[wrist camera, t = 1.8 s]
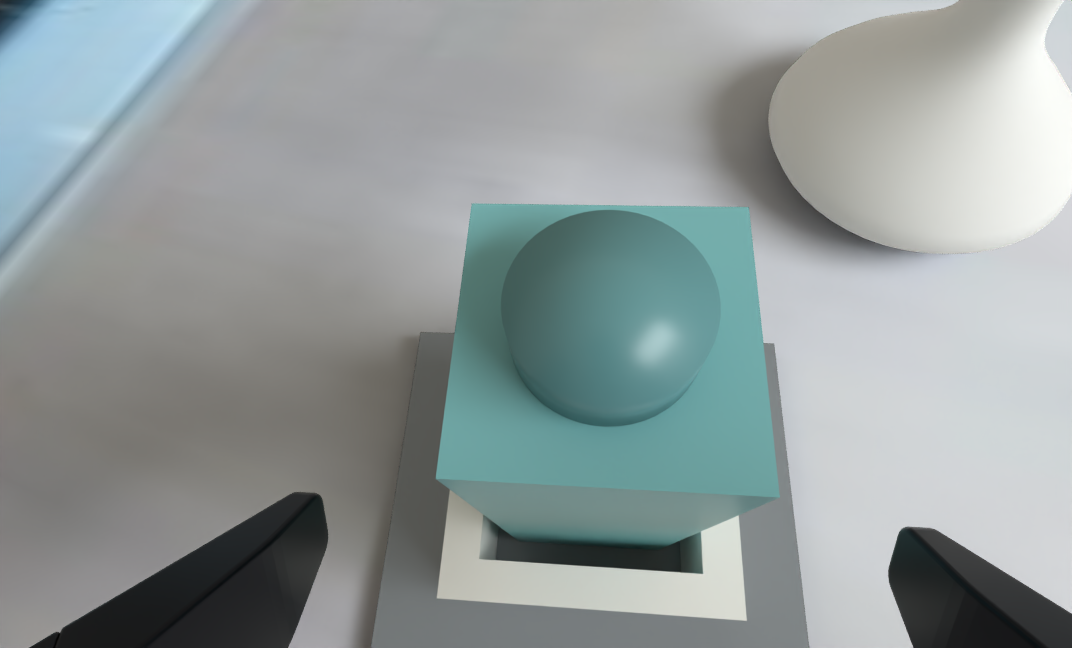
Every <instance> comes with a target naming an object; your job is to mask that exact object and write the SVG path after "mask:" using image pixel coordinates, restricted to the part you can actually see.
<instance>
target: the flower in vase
mask: <svg viewBox="0 0 1072 648" xmlns="http://www.w3.org/2000/svg"><path fill="white" fill-rule="evenodd" d="M1063 1H1064V0H959V1H958V2H956V3H955V4H953V5H951V6H948V7H946V8H942V9H937V10H928V11H918V12H910V13H903V14H897V15H891V16H885V17H880V18H876V19H873V20H869V21H866V22H863V23H860V24H857V25H854V26H851V27H848V28H845V29H843V30H840V31H838V32H836V33H833V34H831V35H829V36H827V37H826V38H824V39H822V40H820V41H819V42H817V43H816V44H815V45H813V46H812V47H811V48H809V49H808V50H807V51H806V52H805V53H804V54H803V55H802V56H801V57H800V58H799V59H798V60H797V61H796V62H795V63H794V64H793V65H792V66H791V67H790V68H789V69H788V70H787V71H786V72H785V74H784V75H783V77H782V78H781V79H780V81H779V82H778V84H777V86H776V88H775V91H774V93H773V95H772V99H771V103H770V107H769V118H768V123H769V133H770V138H771V142H772V145H773V149H774V151H775V153H776V156H777V158H778V160H779V162H780V164H781V166H782V168H783V170H784V172H785V174H786V175H787V177H788V178H789V180H790V182H791V183H792V185H793V186H794V187H795V188H796V190H797V191H798V192H799V193H800V194H801V196H802V197H803V198H804V199H805V200H806V201H807V202H808V203H810V204H811V205H812V206H813V207H814V208H815V209H816V210H817V211H819V212H820V213H821V214H823V215H824V216H825V217H827V218H828V219H829V220H831V221H833V222H834V223H836V224H838V225H839V226H841V227H843V228H844V229H846V230H848V231H850V232H852V233H854V234H856V235H858V236H860V237H862V238H865V239H867V240H870V241H873V242H876V243H879V244H882V245H885V246H889V247H893V248H897V249H901V250H906V251H913V252H920V253H933V254H964V253H978V252H983V251H989V250H994V249H999V248H1002V247H1005V246H1008V245H1011V244H1014V243H1017V242H1019V241H1021V240H1023V239H1026V238H1028V237H1030V236H1032V235H1034V234H1035V233H1037V232H1038V231H1039V230H1041V229H1042V228H1044V227H1045V226H1047V225H1048V224H1049V223H1050V222H1051V221H1052V220H1053V219H1054V218H1055V217H1056V216H1057V215H1058V214H1059V213H1060V212H1061V210H1062V209H1063V207H1064V206H1065V204H1066V203H1067V201H1068V200H1069V198H1070V196H1071V194H1072V94H1071V92H1070V90H1069V88H1068V86H1067V85H1066V83H1065V81H1064V79H1063V78H1062V76H1061V74H1060V72H1059V71H1058V69H1057V67H1056V66H1055V64H1054V63H1053V61H1052V60H1051V58H1050V57H1049V55H1048V53H1047V51H1046V49H1045V43H1044V39H1045V35H1046V32H1047V28H1048V26H1049V24H1050V22H1051V21H1052V19H1053V17H1054V15H1055V14H1056V12H1057V10H1058V9H1059V7H1060V5H1061V4H1062V3H1063Z"/></svg>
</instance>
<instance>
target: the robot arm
mask: <svg viewBox="0 0 1072 648" xmlns="http://www.w3.org/2000/svg"><path fill="white" fill-rule="evenodd" d="M327 543H328V529H327V523H326V517H325V512H324V506H323V501H322V498H321V496H320V495H319V494H317V493H308V492H294V493H292V494H290V495H288V496H286V497H285V498H283V499H281V500H280V501H278V502H276V503H275V504H273V505H271V506H269V507H268V508H266V509H264V510H263V511H261V512H259V513H258V514H256V515H254V516H252V517H251V518H249V519H247V520H246V521H244V522H242V523H241V524H239V525H237V526H235V527H234V528H232V529H230V530H229V531H227V532H225V533H224V534H222V535H220V536H218V537H217V538H215V539H213V540H212V541H210V542H208V543H207V544H205V545H203V546H201V547H200V548H198V549H196V550H195V551H193V552H191V553H190V554H188V555H186V556H184V557H183V558H181V559H179V560H178V561H176V562H174V563H173V564H171V565H169V566H167V567H166V568H164V569H162V570H161V571H159V572H157V573H155V574H154V575H152V576H150V577H149V578H147V579H145V580H144V581H142V582H140V583H138V584H137V585H135V586H133V587H132V588H130V589H128V590H127V591H125V592H123V593H121V594H120V595H118V596H116V597H115V598H113V599H111V600H110V601H108V602H106V603H104V604H103V605H101V606H99V607H98V608H96V609H94V610H92V611H91V612H89V613H87V614H86V615H84V616H82V617H81V618H79V619H77V620H75V621H74V622H72V623H70V624H69V625H67V626H65V627H64V628H63V629H62V630H61V632H60V633H59V632H55V633H53V634H51V635H50V636H48V637H46V638H45V639H43V640H41V641H40V642H38V643H36V644H35V645H33V646H31V647H29V648H288V647H289V644H290V642H291V640H292V638H293V635H294V633H295V630H296V628H297V625H298V623H299V620H300V617H301V615H302V612H303V609H304V607H305V604H306V601H307V599H308V596H309V593H310V591H311V588H312V585H313V583H314V580H315V577H316V575H317V572H318V569H319V567H320V564H321V561H322V559H323V556H324V553H325V551H326V548H327ZM888 577H889V583H890V587H891V589H892V592H893V595H894V597H895V600H896V603H897V605H898V608H899V611H900V613H901V616H902V619H903V621H904V624H905V627H906V629H907V632H908V634H909V637H910V640H911V642H912V645H913V648H1072V614H1071V613H1070V612H1068V611H1066V610H1065V609H1063V608H1062V607H1060V606H1058V605H1057V604H1055V603H1054V602H1052V601H1050V600H1049V599H1047V598H1045V597H1044V596H1042V595H1041V594H1039V593H1037V592H1036V591H1034V590H1033V589H1031V588H1029V587H1028V586H1026V585H1024V584H1023V583H1021V582H1020V581H1018V580H1016V579H1015V578H1013V577H1011V576H1010V575H1008V574H1007V573H1005V572H1003V571H1002V570H1000V569H999V568H997V567H995V566H994V565H992V564H990V563H989V562H987V561H986V560H984V559H982V558H981V557H979V556H978V555H976V554H974V553H973V552H971V551H969V550H968V549H966V548H965V547H963V546H961V545H960V544H958V543H956V542H955V541H953V540H952V539H950V538H948V537H947V536H945V535H944V534H942V533H940V532H939V531H937V530H935V529H932V528H922V527H905V528H903V529H901V531H900V532H899V534H898V537H897V541H896V544H895V548H894V551H893V555H892V558H891V562H890V565H889V570H888Z"/></svg>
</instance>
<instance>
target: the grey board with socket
mask: <svg viewBox="0 0 1072 648" xmlns="http://www.w3.org/2000/svg"><path fill="white" fill-rule="evenodd" d="M454 335H455V333H431V332H421V333H420V340H419V346H418V352H417V359H416V365H415V371H414V378H413V384H412V390H411V397H410V403H409V409H408V416H407V422H406V428H405V435H404V441H403V447H402V454H401V460H400V466H399V472H398V479H397V485H396V491H395V498H394V504H393V510H392V517H391V523H390V529H389V536H388V542H387V548H386V555H385V561H384V567H383V574H382V580H381V586H380V593H379V599H378V605H377V612H376V618H375V624H374V630H373V637H372V643H371V648H809V642H808V633H807V624H806V616H805V607H804V598H803V590H802V581H801V572H800V564H799V555H798V546H797V538H796V529H795V520H794V512H793V503H792V495H791V486H790V477H789V469H788V460H787V451H786V443H785V434H784V425H783V417H782V408H781V399H780V391H779V382H778V373H777V365H776V356H775V347H774V344H771V343H763V345H764V354H765V363H766V373H767V382H768V391H769V400H770V410H771V419H772V428H773V438H774V447H775V456H776V466H777V475H778V484H779V494H780V498H778V499H775V500H773V501H771V502H768V503H766V504H764V505H761V506H759V507H757V508H754V509H752V510H750V511H747V512H745V513H743V514H740V515H738V516H736V517H734V518H731V519H729V520H727V521H724V522H722V523H720V524H717V525H715V526H713V527H710V528H708V529H706V530H703V531H701V532H699V533H696V534H694V535H692V536H689V537H687V538H685V539H683V540H680V541H678V542H676V543H673V544H671V545H669V546H666V547H664V548H662V549H659V550H647V549H631V548H615V547H599V546H584V545H568V544H552V543H536V542H520V541H518V540H517V539H515V538H514V537H513V536H511V535H510V534H509V533H507V532H506V531H505V530H503V529H502V528H501V527H499V526H498V525H497V524H495V523H494V522H493V521H491V520H490V519H489V518H487V517H486V516H485V515H483V514H482V513H481V512H479V511H478V510H477V509H475V508H474V507H473V506H471V505H470V504H469V503H467V502H466V501H465V500H463V499H462V498H461V497H459V496H458V495H457V494H455V493H454V492H453V491H451V490H450V489H449V488H447V487H446V486H445V485H443V484H442V483H441V482H439V481H438V480H437V479H436V472H437V464H438V456H439V449H440V441H441V434H442V426H443V419H444V411H445V403H446V396H447V388H448V381H449V373H450V365H451V358H452V350H453V343H454Z"/></svg>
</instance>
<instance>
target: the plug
mask: <svg viewBox="0 0 1072 648" xmlns="http://www.w3.org/2000/svg"><path fill="white" fill-rule="evenodd" d="M436 479H437V480H438V481H439V482H441V483H442V484H443V485H445V486H446V487H447V488H449V489H450V490H451V491H453V492H454V493H455V494H457V495H458V496H459V497H461V498H462V499H463V500H465V501H466V502H467V503H469V504H470V505H471V506H473V507H474V508H475V509H477V510H478V511H479V512H481V513H482V514H483V515H485V516H486V517H487V518H489V519H490V520H491V521H493V522H494V523H495V524H497V525H498V526H499V527H501V528H502V529H503V530H505V531H506V532H507V533H509V534H510V535H511V536H513V537H514V538H515V539H517V540H518V541H520V542H536V543H552V544H568V545H584V546H599V547H615V548H631V549H647V550H659V549H662V548H664V547H666V546H669V545H671V544H673V543H676V542H678V541H680V540H683V539H685V538H687V537H689V536H692V535H694V534H696V533H699V532H701V531H703V530H706V529H708V528H710V527H713V526H715V525H717V524H720V523H722V522H724V521H727V520H729V519H731V518H734V517H736V516H738V515H740V514H743V513H745V512H747V511H750V510H752V509H754V508H757V507H759V506H761V505H764V504H766V503H768V502H771V501H773V500H775V499H778V498H780V494H779V484H778V475H777V466H776V456H775V447H774V438H773V428H772V419H771V410H770V400H769V391H768V382H767V373H766V363H765V354H764V345H763V335H762V326H761V317H760V307H759V298H758V289H757V279H756V270H755V261H754V251H753V242H752V233H751V223H750V214H749V207H695V206H617V205H539V204H472V206H471V213H470V221H469V229H468V236H467V244H466V251H465V259H464V267H463V274H462V282H461V289H460V297H459V305H458V312H457V320H456V327H455V335H454V343H453V350H452V358H451V365H450V373H449V381H448V388H447V396H446V403H445V411H444V419H443V426H442V434H441V441H440V449H439V456H438V464H437V472H436Z"/></svg>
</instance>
